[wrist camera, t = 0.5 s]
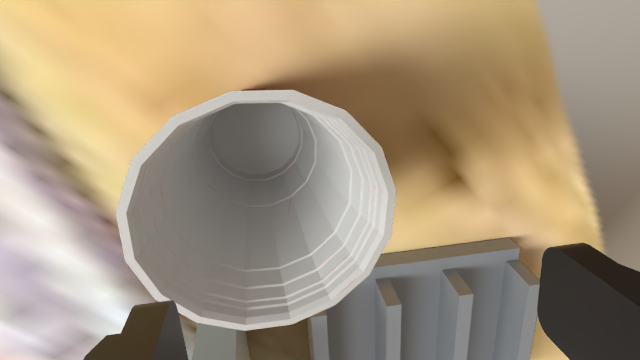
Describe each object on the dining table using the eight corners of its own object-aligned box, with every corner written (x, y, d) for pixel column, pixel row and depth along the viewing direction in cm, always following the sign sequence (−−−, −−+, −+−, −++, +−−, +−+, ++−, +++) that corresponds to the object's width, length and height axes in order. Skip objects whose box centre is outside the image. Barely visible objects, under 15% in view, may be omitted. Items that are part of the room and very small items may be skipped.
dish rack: (302, 264, 32) (310, 305, 28) (509, 237, 34) (545, 271, 30) (314, 402, 38) (322, 452, 34) (491, 372, 39) (519, 416, 35)
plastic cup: (283, 238, 31) (303, 373, 20) (137, 162, 27) (63, 276, 16) (376, 110, 28) (457, 186, 17) (228, 7, 25) (212, 21, 14)
